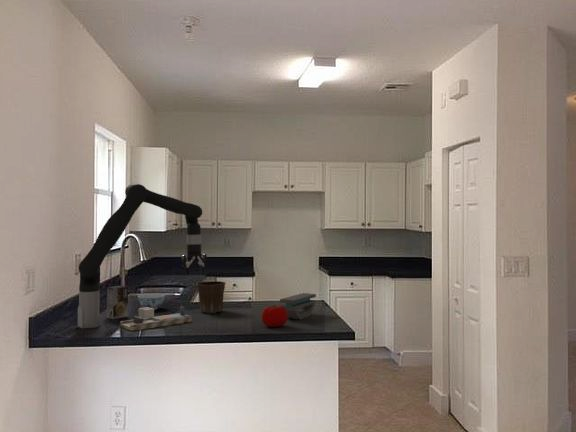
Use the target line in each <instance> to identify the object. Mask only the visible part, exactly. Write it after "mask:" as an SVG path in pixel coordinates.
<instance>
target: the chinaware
mask: <svg viewBox="0 0 576 432" xmlns="http://www.w3.org/2000/svg"><path fill="white" fill-rule="evenodd" d="M165 298H166V296H165V294H163V293H147V294H141V295H137V299H138V301H139V303H140V305H141V306H142V308H145V307H149V308H153V309H154V311H155V310H158V308H159V307H160V306H161V305H162V304H163V302H164V300H165Z"/></svg>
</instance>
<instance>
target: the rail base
mask: <svg viewBox="0 0 576 432" xmlns="http://www.w3.org/2000/svg"><path fill="white" fill-rule="evenodd" d="M179 313H180V312H179ZM179 313H177V314H179ZM119 321H120V320H119ZM191 321H193V320H192V316H190V317H183V318H176V319H169V320H162V321H155V320H152V317H149V318H140V317H139V316H137V315H134V316H133V319H128V320H121V321H120V322H119V328H121V329H125V330H129V331H131V332H132V331H140V330H146V329H154V328H159V327H166V326H172V325H173V324H174V325H177V324H178V325H180V324H185V323H184V322H187V323H192V322H191ZM179 323H180V324H179Z"/></svg>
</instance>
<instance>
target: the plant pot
mask: <svg viewBox="0 0 576 432" xmlns="http://www.w3.org/2000/svg"><path fill="white" fill-rule="evenodd" d="M226 283H227V282H225V281H217V280H215V281H212V280H211V281H201V282H196V286H197V291H198V300H199V307H200V308H199V311H200V313H202V312H203V313H202V314H210V313H212V314H217V313H216V312H219V313H222V312H223V306H224V305H223V304H224V292H225V288H226ZM204 312H205V313H204Z"/></svg>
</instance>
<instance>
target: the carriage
mask: <svg viewBox="0 0 576 432" xmlns="http://www.w3.org/2000/svg"><path fill="white" fill-rule="evenodd" d="M183 317H191V316H190V315H188V314H186V307H185V306H179V314H178V313H171V314H166V315H165V314H163V315H156V316H154V317H152V320H155V321H162V320H169V319H176V318H183Z"/></svg>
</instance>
